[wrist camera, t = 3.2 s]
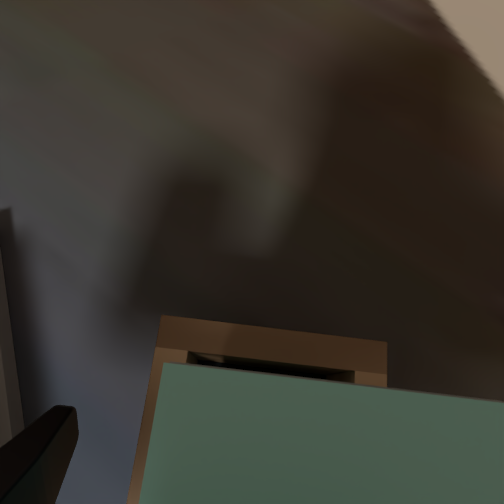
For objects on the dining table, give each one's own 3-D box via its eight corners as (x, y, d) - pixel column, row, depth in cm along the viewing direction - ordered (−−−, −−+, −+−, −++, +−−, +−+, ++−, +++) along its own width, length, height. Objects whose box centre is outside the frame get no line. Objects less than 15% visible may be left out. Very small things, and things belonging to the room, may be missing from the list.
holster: (344, 587, 14) (386, 660, 10) (137, 564, 14) (103, 629, 10) (351, 352, 17) (387, 341, 13) (177, 331, 17) (161, 314, 13)
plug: (298, 523, 15) (645, 1214, 2) (196, 512, 15) (13, 1158, 2) (306, 392, 16) (549, 402, 4) (213, 381, 16) (158, 355, 4)
